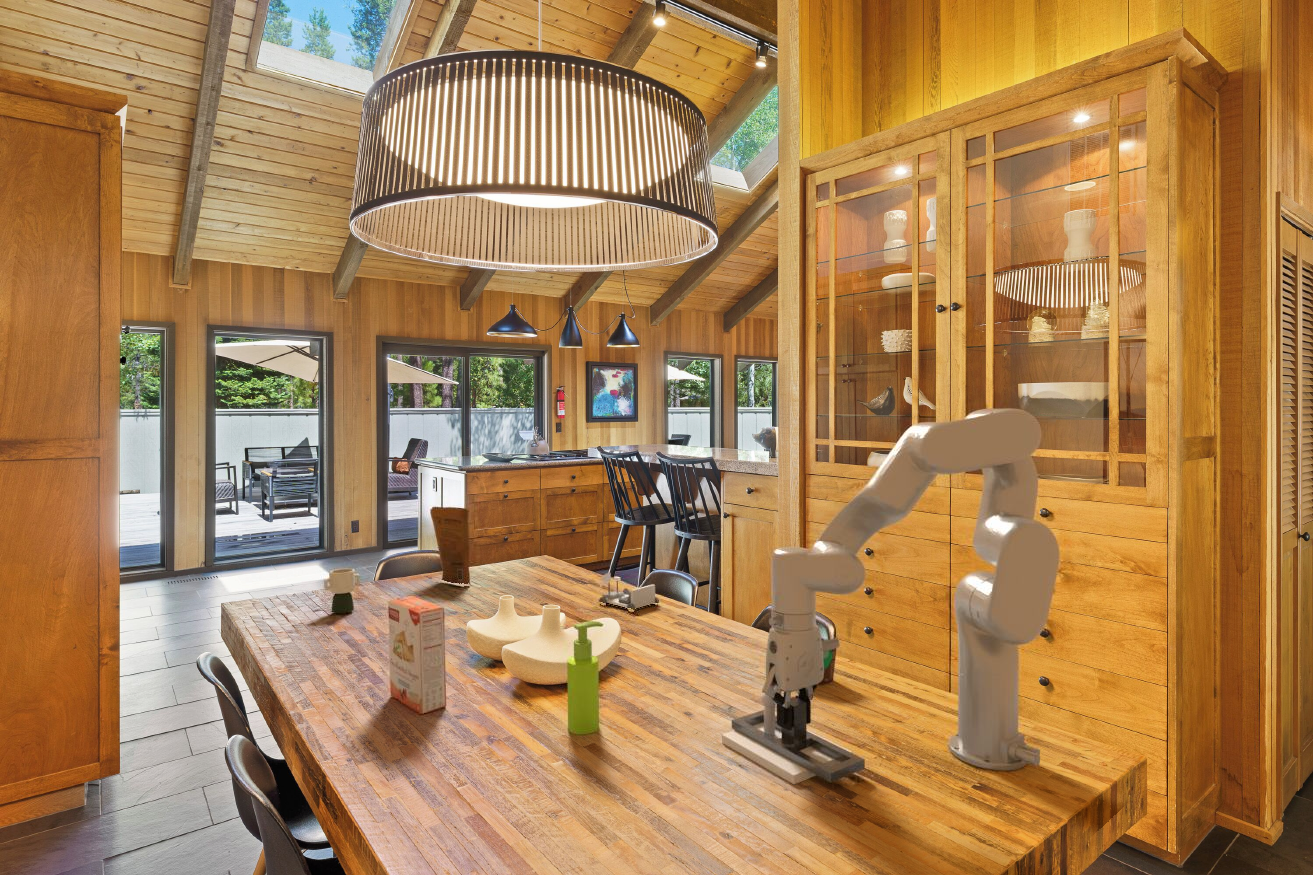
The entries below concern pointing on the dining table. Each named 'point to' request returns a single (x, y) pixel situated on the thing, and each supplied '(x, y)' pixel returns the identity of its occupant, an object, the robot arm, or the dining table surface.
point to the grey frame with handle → (800, 744)
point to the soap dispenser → (583, 684)
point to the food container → (829, 659)
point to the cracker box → (417, 653)
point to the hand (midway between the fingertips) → (793, 723)
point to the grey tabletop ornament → (628, 595)
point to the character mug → (342, 589)
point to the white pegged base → (769, 757)
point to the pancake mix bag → (452, 542)
